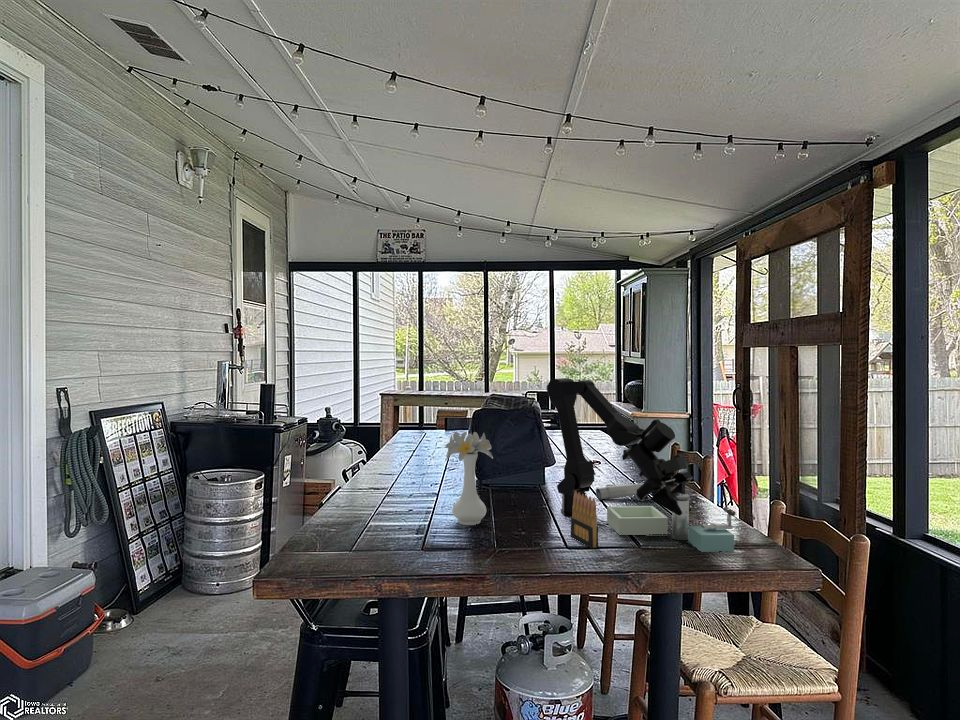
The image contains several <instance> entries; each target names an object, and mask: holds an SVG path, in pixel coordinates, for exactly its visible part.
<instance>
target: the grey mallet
mask: <svg viewBox="0 0 960 720" xmlns="http://www.w3.org/2000/svg"><path fill="white" fill-rule="evenodd" d="M644 483H645V482H643V483H632V484H622V485H621V484H620V485H610V486H609V485H605V486H602V487H596V489H595V495H596V499H597V498H598V499H599V500H598V499H597V500H598V501H603V500H602V499H608V500H609V501H611V500H613V499H618V498H624V497H625V498H626V497H631V496H637V495H636V491H637V489H638V488H639V487H640V486H641V485H643V484H644Z"/></svg>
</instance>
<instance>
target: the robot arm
mask: <svg viewBox="0 0 960 720" xmlns="http://www.w3.org/2000/svg"><path fill="white" fill-rule="evenodd" d="M546 393H547V394H548V398H549V401H550V402H551V404H552V405H553V406H554V408H555V409H556V411H557V412H556V413H557V416H558V422H559V426H560V430H561V436H562V441H563V446H564V451H565V456H566V461H565V464H564V468H563V475H564V478H563V479H561V481H560V482H559V483H558V484H557V486H556V489H557V492H558V494H561V509H560V512H561V513H562V514H563V516H564V517H572V508H573V498H574V493H575V491H577V494H578V493H579V492H580V494H581V496H582V494H584V497H585V496H586V495H587V492H590V489H591V487H592V485H593V483H594V482H595V475H596V474H597V473H596V472H595V470H594V462H593V460H588V459H587V457H585V454H584V452H583V445H582V440H581V435H580V430H579V426H578V421H577V416H576V411H575V404H576V401H577V395H580V396H581V398H582V400H584V401H585V403H587V404H588V406H589V407H590V408H591V409H592V410H593V412H594V413H595V414H596V415H597V416H598V417H599V418H600V419H601V421H602V422H603V424H604V425H605V427H606V430H607V434H608V436H609V437H610V438H611V440H612V442H613V443H614V444H615V445H616V446H618V447H624V446H630V445H631V446H630V447H629V448H627V449H623V451H622V453H623V454H622V456H621V457H622V461H626V460H631V461H632V462H633V463H634V465H635V466H636V467H637V469H638V470H639V473H638V476H639V477H640V478H642V477H643V478H645V482H643V483H644V484H643V485H641V486H640V487H639V488H638V489H637V491H636V495H635V496H636V497H637V498H638V500H639V501H640V502H644V501H647V500H648V499H649V500H650V502H653V503H655V504H657V505H659V506H661V507H663V508H665V509H667V510H668V511H671V513H672V512H674V513H675V514H677V515H679V516H680V515H681V514H682V511H681V509H680V507H679V506H678V504H677V502H676V501H675V499H674V498H673V496H672V494H673V493H685V494H687V493H686V485H687V484H688V483H690V481H691V480H692V479H694V477H693V475H692V474H691V473H690V472H689V471H686V469H688V467H689V466H688V462H689V460H688V458H686V456H685V455H683V453H678V454H675V455H673V458H671V459H668V460H665V459H664V458H658V456H657V455H656V454H655V452H656V453H661V452H662V451H663V450H664V449H666V447H667V446H668V445H669V444H670V443H671V442H672V441H673V440H675V438H676V435H675V432H674V430H673V429H672V428H671V427H670V426H668V425H667V424H666V423H664V422H662V421H660V419H658V418H657V419H653V420H652V421H651V422H650V424H649V426H647V427H646V429H643V428H640V426H639V425H637V423H635V422H634V421H633V420H631V419H630V418H628V417H626V416H624V415H622V414H621V413H620V412H619V411H618V410H617V409H616V408H615V406H613V405H612V403H610V401H609V400H608V399H607V398H606V397H605V396H604V395H603V394H602V392H601V391H600V390H599V389H598V387H596V385H595V383H594V382H593V381H592V380H590V379H587V380H586V379H583V380H578V381H574V380H573V379H572V378H568V377H566V378H563V377H562V378H552V379H551V380H550V381H549V382H548V384H547V385H546ZM683 469H684V470H685V471H684V470H683ZM680 470H683V471H680ZM679 471H680V472H679ZM650 494H651V496H652V497H651V498H649V495H650ZM691 511H692V508H691V505H690V503H689V513H691Z"/></svg>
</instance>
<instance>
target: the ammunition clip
mask: <svg viewBox="0 0 960 720" xmlns="http://www.w3.org/2000/svg"><path fill="white" fill-rule="evenodd" d="M570 517H571V518H570V538H571V537H572V539H573V538H574V539H573V540H575V539H576V540H575V541H577V540H578V541H580V542H581V543H580V542H579V543H580V544H582V543H583V545H584V544H585V545H584V546H586V547H587V546H588V547H587V548H589V547H590V548H589V549H591V550H592V548H593V549H598V548H599V526H597V525H598V524H597V523H598V521H597V520H598V515H597V505H596V500H595V497H593V498H592V497H591V496H589V497H588V495H587V494H586V496H585V497H584V494H582V496H581V494H580V492H579V493H578V494H577V491H575V493H574V498H573V508H572V516H570ZM578 541H577V542H578Z"/></svg>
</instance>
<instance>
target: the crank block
mask: <svg viewBox="0 0 960 720" xmlns="http://www.w3.org/2000/svg"><path fill="white" fill-rule="evenodd" d="M689 542H690V543H691V544H692V545H691V544H690V543H689ZM688 543H689V544H690V545H691V546H693V547H694V548H695V547H696V548H697V550H698V551H699V552H700V551H701V553H720V552H719V551H722V552H721V553H727V552H726V551H734V552H735V534H733V533H732V532H730V531H729V529H716V530H714V531H711V530H707V529H703V528H702V525H689V535H688ZM696 548H695V549H696Z"/></svg>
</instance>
